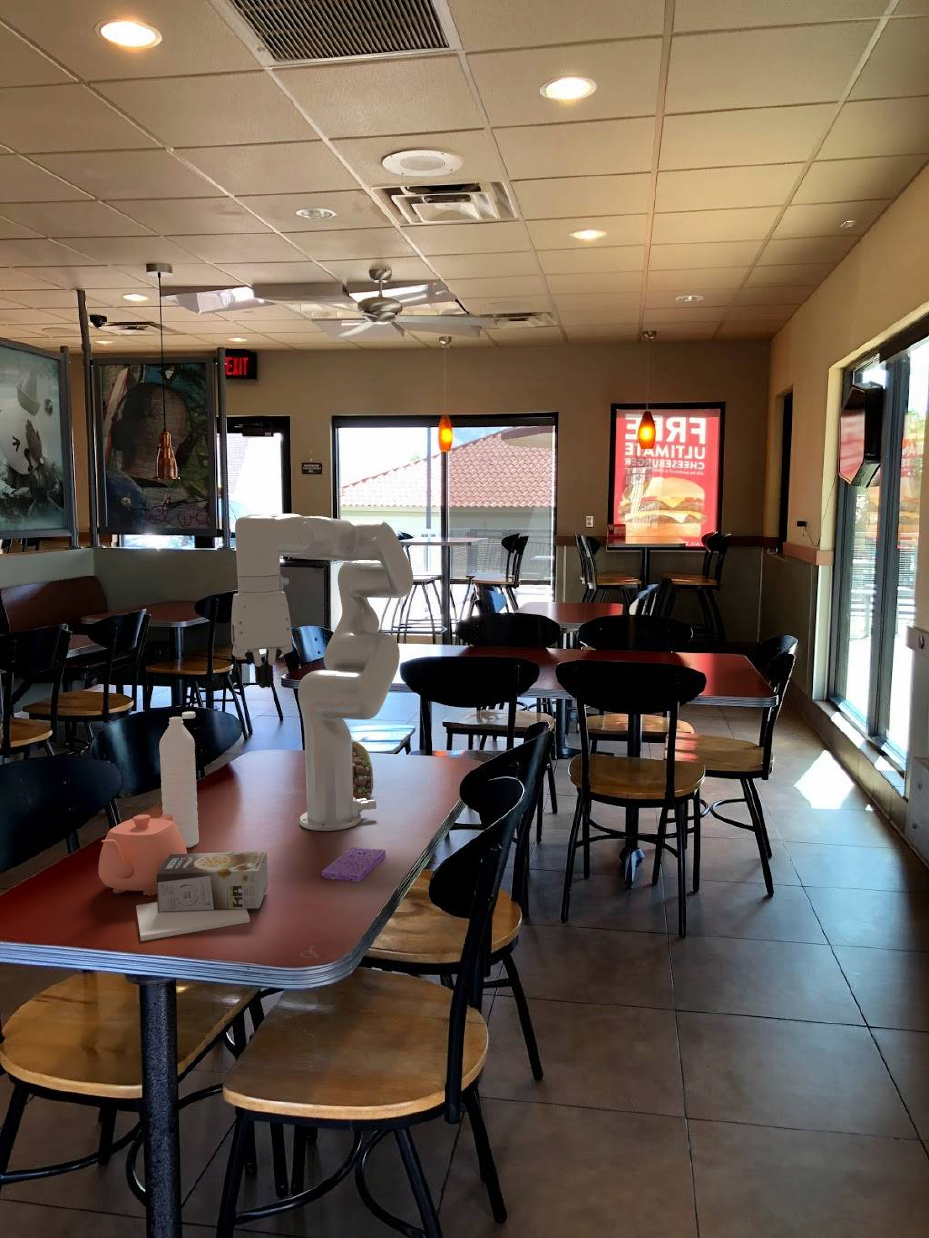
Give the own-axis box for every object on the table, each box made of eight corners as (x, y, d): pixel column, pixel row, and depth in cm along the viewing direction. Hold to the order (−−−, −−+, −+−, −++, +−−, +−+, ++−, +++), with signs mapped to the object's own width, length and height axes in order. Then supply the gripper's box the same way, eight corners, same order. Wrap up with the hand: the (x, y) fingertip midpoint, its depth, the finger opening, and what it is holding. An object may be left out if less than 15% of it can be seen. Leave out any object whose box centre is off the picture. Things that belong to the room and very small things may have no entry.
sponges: (386, 859, 170) (385, 849, 170) (359, 884, 158) (358, 874, 158) (351, 855, 172) (350, 846, 172) (321, 880, 160) (321, 870, 160)
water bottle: (186, 851, 174) (180, 721, 172) (156, 848, 176) (150, 719, 174) (212, 836, 183) (206, 712, 180) (183, 833, 185) (178, 710, 182)
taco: (341, 770, 231) (340, 731, 230) (384, 798, 207) (383, 754, 206) (304, 776, 226) (303, 735, 225) (344, 805, 203) (342, 759, 202)
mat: (237, 893, 154) (237, 889, 154) (249, 922, 143) (249, 917, 143) (136, 910, 148) (136, 905, 148) (140, 941, 137) (140, 935, 137)
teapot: (71, 907, 150) (66, 834, 148) (140, 862, 169) (137, 798, 168) (144, 914, 147) (140, 840, 145) (206, 868, 166) (204, 802, 165)
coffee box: (259, 870, 145) (154, 874, 144) (260, 909, 146) (156, 913, 145) (267, 849, 154) (169, 853, 153) (268, 886, 155) (171, 890, 154)
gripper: (295, 581, 171) (300, 679, 173) (213, 586, 165) (219, 687, 167) (306, 584, 164) (310, 686, 166) (220, 589, 158) (226, 694, 160)
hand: (264, 686), depth 167 cm, fingers closed
